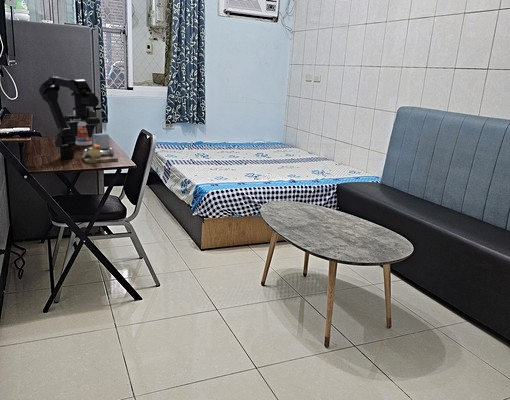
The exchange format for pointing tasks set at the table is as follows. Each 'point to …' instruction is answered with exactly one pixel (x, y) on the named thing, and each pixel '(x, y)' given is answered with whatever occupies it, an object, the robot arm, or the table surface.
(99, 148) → the valve lever
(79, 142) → the fruit juice
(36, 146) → the table surface
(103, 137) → the medicine box
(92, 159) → the valve board
